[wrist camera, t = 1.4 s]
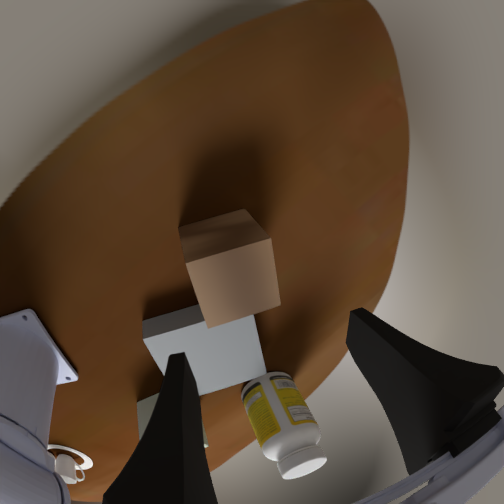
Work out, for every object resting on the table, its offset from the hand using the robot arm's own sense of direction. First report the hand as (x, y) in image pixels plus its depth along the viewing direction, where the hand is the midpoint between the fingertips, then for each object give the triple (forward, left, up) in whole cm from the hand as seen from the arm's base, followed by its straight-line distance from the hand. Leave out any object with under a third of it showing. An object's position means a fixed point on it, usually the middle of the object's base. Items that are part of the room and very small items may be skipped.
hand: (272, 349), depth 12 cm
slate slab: (-3, -8, -10) cm, 13 cm away
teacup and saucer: (-28, -20, -11) cm, 36 cm away
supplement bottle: (+1, -17, -10) cm, 20 cm away
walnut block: (0, 0, -10) cm, 10 cm away
